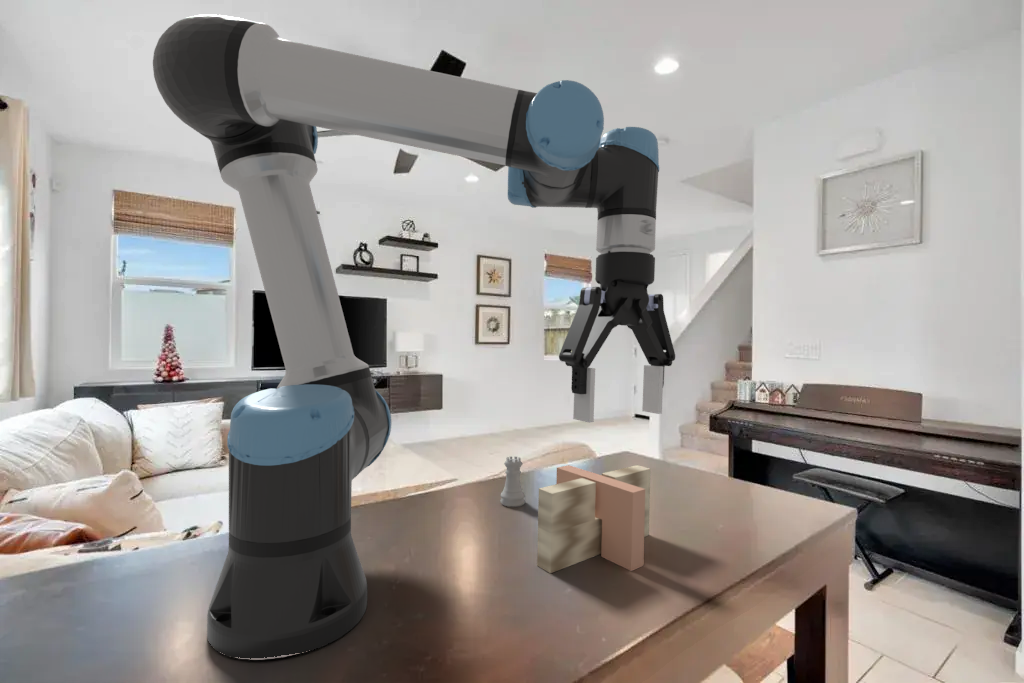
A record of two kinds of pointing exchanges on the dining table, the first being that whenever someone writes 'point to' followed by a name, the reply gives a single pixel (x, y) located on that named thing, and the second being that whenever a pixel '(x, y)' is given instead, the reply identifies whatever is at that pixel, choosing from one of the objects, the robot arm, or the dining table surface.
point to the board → (578, 518)
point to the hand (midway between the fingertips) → (619, 416)
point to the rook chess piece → (513, 484)
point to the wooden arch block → (615, 516)
